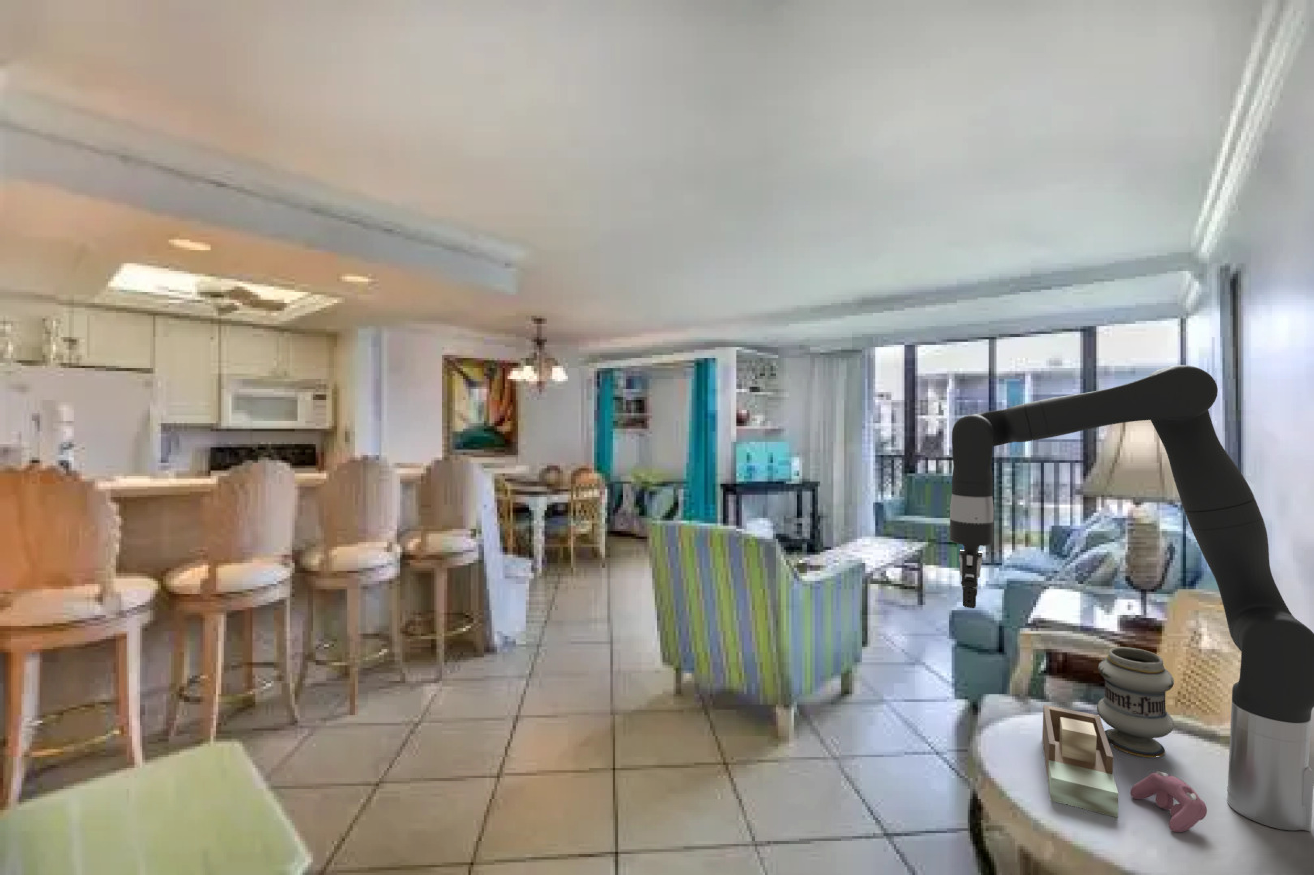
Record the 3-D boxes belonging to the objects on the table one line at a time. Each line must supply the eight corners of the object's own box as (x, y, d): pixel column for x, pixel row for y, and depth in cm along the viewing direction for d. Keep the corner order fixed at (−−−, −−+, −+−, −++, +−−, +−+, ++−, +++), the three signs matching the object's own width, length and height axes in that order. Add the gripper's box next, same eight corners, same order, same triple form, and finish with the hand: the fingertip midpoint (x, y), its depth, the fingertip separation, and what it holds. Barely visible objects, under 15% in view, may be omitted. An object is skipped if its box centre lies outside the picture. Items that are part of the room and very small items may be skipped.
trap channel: (1098, 751, 122) (1099, 715, 122) (1117, 817, 102) (1119, 775, 102) (1042, 739, 126) (1043, 704, 126) (1050, 800, 107) (1051, 760, 106)
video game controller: (1196, 844, 98) (1219, 805, 98) (1170, 831, 98) (1193, 792, 98) (1148, 804, 108) (1169, 769, 108) (1124, 792, 108) (1145, 757, 108)
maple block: (1091, 750, 115) (1092, 723, 115) (1095, 763, 110) (1096, 735, 110) (1059, 743, 117) (1060, 716, 117) (1061, 756, 113) (1062, 728, 113)
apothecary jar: (1080, 731, 130) (1083, 644, 129) (1130, 726, 132) (1134, 641, 131) (1135, 764, 118) (1139, 668, 117) (1189, 757, 120) (1193, 664, 119)
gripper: (993, 525, 114) (991, 614, 115) (993, 514, 127) (992, 594, 128) (947, 522, 118) (946, 608, 118) (952, 511, 130) (951, 589, 131)
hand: (970, 601), depth 123 cm, fingers open, 8 cm apart
